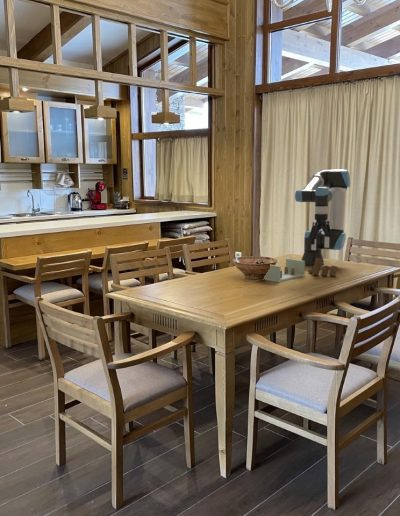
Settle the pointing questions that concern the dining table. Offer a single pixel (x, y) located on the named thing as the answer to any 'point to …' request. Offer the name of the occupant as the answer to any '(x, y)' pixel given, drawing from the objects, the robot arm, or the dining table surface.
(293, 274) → the peg stand
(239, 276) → the dining table surface
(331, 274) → the wooden block set
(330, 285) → the dining table surface
